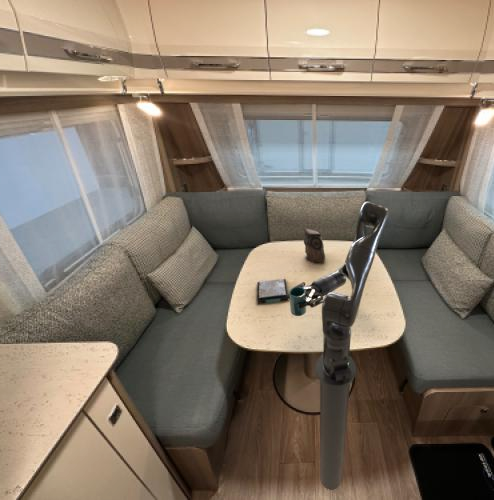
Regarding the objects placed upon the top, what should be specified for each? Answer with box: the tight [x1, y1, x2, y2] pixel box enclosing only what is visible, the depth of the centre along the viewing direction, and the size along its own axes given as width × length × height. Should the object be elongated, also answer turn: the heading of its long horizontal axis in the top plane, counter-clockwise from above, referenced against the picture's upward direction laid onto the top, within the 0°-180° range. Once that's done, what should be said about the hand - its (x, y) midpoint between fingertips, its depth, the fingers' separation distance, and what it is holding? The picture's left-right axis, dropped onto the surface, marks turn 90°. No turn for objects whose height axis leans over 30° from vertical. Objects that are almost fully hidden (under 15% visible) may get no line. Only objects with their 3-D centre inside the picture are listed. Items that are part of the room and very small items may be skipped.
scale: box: [256, 278, 289, 305], centre depth 137 cm, size 16×15×3 cm
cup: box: [288, 286, 307, 317], centre depth 109 cm, size 7×7×10 cm
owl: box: [303, 227, 326, 264], centre depth 161 cm, size 13×13×20 cm
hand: (293, 301), depth 108 cm, fingers closed on cup, 6 cm apart
